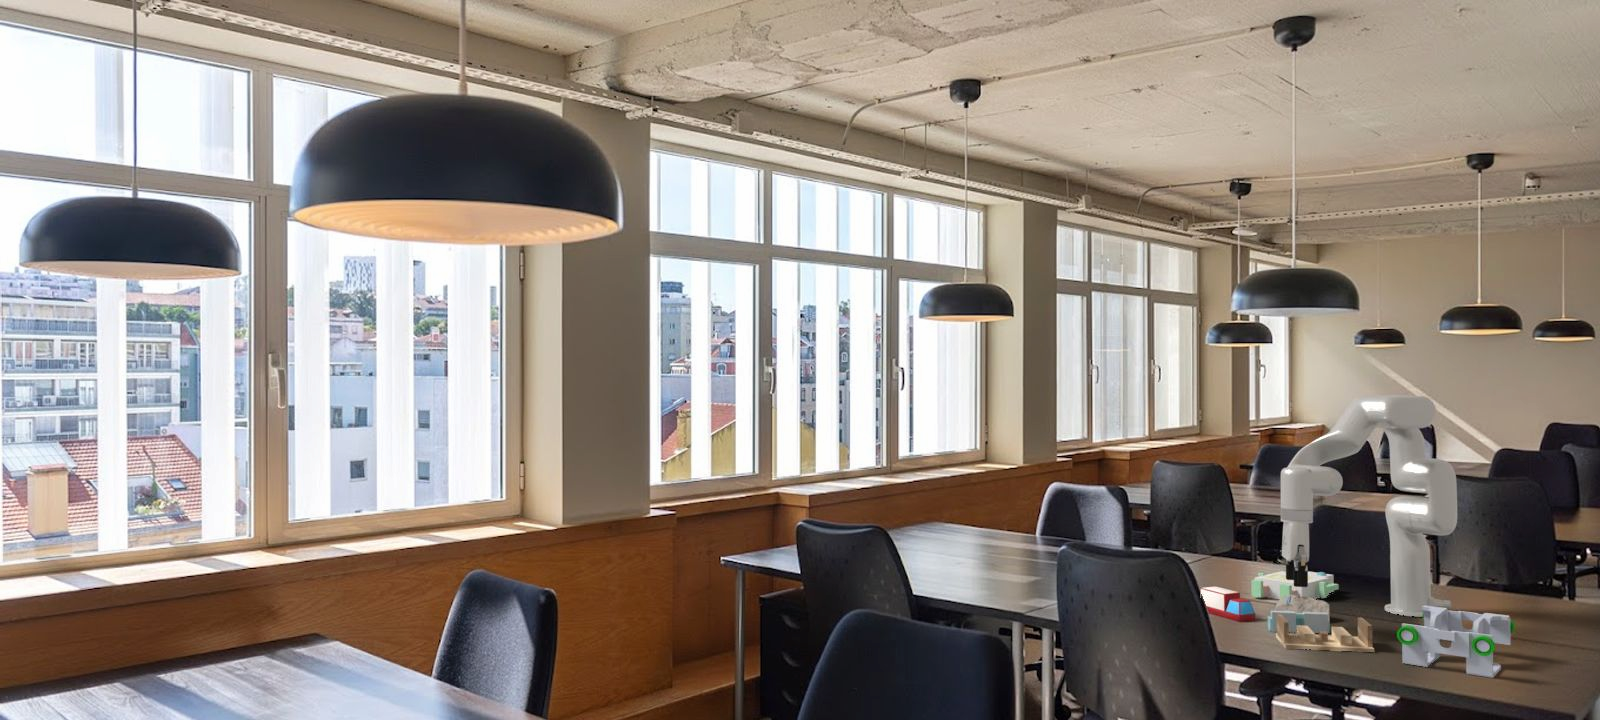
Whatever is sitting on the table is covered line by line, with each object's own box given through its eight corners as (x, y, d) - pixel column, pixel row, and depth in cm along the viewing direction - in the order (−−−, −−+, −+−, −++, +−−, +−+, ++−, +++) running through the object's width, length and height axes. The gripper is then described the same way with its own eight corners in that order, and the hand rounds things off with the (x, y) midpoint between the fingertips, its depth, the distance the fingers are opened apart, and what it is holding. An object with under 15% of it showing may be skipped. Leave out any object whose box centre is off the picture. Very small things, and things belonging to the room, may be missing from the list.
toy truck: (1239, 623, 291) (1239, 597, 291) (1200, 611, 305) (1200, 587, 305) (1256, 621, 293) (1255, 596, 293) (1216, 610, 307) (1215, 586, 307)
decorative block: (1282, 565, 340) (1347, 574, 324) (1282, 586, 340) (1348, 596, 324) (1237, 575, 324) (1304, 585, 308) (1237, 597, 324) (1304, 608, 308)
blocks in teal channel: (1326, 630, 281) (1326, 611, 281) (1330, 634, 277) (1329, 614, 277) (1267, 628, 284) (1267, 608, 284) (1270, 631, 280) (1270, 612, 280)
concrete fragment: (1324, 625, 287) (1324, 602, 287) (1272, 616, 298) (1272, 594, 298) (1337, 621, 292) (1336, 598, 292) (1285, 612, 303) (1285, 590, 303)
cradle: (1360, 640, 270) (1360, 616, 270) (1374, 653, 258) (1373, 627, 258) (1276, 637, 275) (1275, 613, 275) (1285, 648, 263) (1285, 623, 263)
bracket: (1515, 657, 254) (1514, 614, 254) (1494, 680, 235) (1493, 634, 235) (1424, 644, 266) (1423, 603, 266) (1397, 665, 247) (1396, 621, 248)
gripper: (1274, 511, 290) (1274, 576, 289) (1287, 519, 273) (1287, 588, 273) (1305, 512, 288) (1305, 578, 288) (1320, 520, 271) (1320, 590, 271)
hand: (1296, 583), depth 280 cm, fingers open, 9 cm apart
